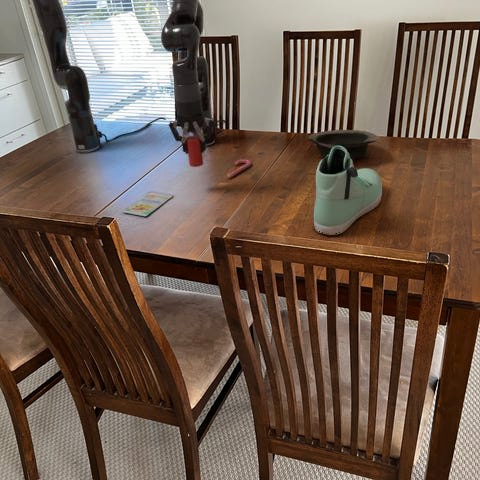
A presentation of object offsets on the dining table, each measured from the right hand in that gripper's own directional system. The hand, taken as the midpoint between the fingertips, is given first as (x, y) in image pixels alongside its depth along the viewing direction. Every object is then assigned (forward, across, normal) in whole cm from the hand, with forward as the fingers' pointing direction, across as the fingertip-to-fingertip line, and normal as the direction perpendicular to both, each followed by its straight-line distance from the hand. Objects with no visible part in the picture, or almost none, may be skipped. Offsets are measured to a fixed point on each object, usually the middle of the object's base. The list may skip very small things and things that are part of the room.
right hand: (194, 152), depth 150 cm
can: (+4, 0, 0) cm, 4 cm away
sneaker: (+13, +44, -20) cm, 50 cm away
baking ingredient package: (+13, -16, -8) cm, 22 cm away
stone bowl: (+13, +51, +20) cm, 56 cm away
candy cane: (+13, +13, +13) cm, 23 cm away
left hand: (-22, -75, +26) cm, 83 cm away
